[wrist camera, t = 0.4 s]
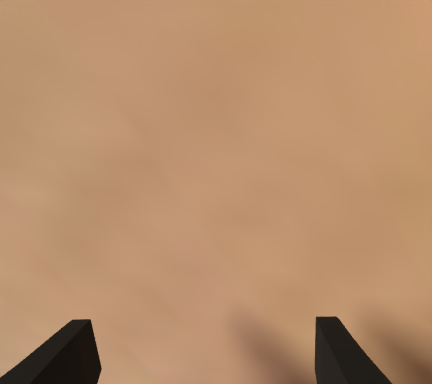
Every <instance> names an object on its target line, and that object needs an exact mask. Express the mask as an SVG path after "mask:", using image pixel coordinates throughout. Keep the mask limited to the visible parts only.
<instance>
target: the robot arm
mask: <svg viewBox="0 0 432 384" xmlns="http://www.w3.org/2000/svg"><path fill="white" fill-rule="evenodd" d="M101 369H102V368H101V364H100V359H99V355H98V350H97V346H96V341H95V337H94V332H93V328H92V324H91V319H83V320H72V321H70V322H69V323H68V324H66V325H65V326H64V327H63V328H61V329H60V330H59V331H58V332H56V333H55V334H54V335H53V336H52V337H50V338H49V339H48V340H47V341H46V342H44V343H43V344H42V345H41V346H40V347H38V348H37V349H36V350H35V351H33V352H32V353H31V354H30V355H29V356H27V357H26V358H25V359H24V360H22V361H21V362H20V363H19V364H18V365H16V366H15V367H14V368H12V369H11V370H10V371H8V372H7V373H6V374H4V375H3V376H2V377H1V378H0V384H97V383H98V379H99V376H100V372H101ZM315 373H316V379H317V384H392V383H391V382H390V381H389V379H388V378H387V377H386V376H385V375H384V374H383V373H382V372H381V371H380V370H379V368H378V367H377V366H376V365H375V364H374V363H373V361H372V360H371V359H370V358H369V357H368V356H367V355H366V353H365V352H364V351H363V350H362V348H361V347H360V346H359V345H358V343H357V342H356V341H355V340H354V338H353V337H352V336H351V334H350V333H349V332H348V331H347V329H346V328H345V326H344V325H343V324H342V322H341V321H340V320H339V319H338V318H337V317H316V337H315Z"/></svg>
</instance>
